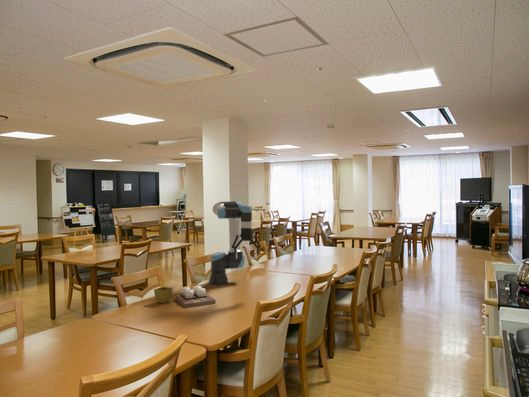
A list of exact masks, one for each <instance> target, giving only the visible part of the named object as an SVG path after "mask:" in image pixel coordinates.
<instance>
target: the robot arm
mask: <svg viewBox="0 0 529 397" xmlns="http://www.w3.org/2000/svg"><path fill="white" fill-rule="evenodd" d="M252 211H253V210H252V205H245V204H244V205H243V204H242V203H241V201H236V200H235V201H219V202H217V203H215V204H214V205H213V208H212V212H213V214H214V215H216V216H217V218H218V219H222V220H223V219H227V220H228V231H229V232H228V233H229V234H228V236H229V239H228V240H229V250H228V251H227V253H226V252H223V251H222V252H217V253H213V254H211V256H210V276H209V278H208V284H210V285H225V284H228V283H229V279H228V275H227V272H226V270H231V269H232V270H233V269H242V268H243V267H244V264H245V259H246V258H245V257H246V256H245V254H244V252H243V250H242V249H241V244H242V242H243V241H244V242H246V241H247V242H249V241H250V242H251V243H252V245H254V256H255V259H256V258H258V253H259V249H260V248H262V246H261V244H260V242H259V240H258V238H257V234H256V233H254V234H252V230H253V229H252ZM252 238H254V240H255V241H256V243H255V242H254V240H253V239H252Z"/></svg>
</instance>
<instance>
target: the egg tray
mask: <svg viewBox="0 0 529 397" xmlns="http://www.w3.org/2000/svg"><path fill="white" fill-rule="evenodd" d="M174 296H175V297H174V298H175V300H176V301H177V302H178V303H179V304H180V305H182V306H183V307H184V308H186V309H187V308H193V307H200V306H206V305H213V304H214V305H215V304H216V299H215V298H214V297H213V296H210V294H208V293H207V292H205V296H203V297H198V296H197V294H194V297H193V298H185V295H182V293H181V294H175V295H174Z"/></svg>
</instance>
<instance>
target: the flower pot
mask: <svg viewBox="0 0 529 397" xmlns="http://www.w3.org/2000/svg"><path fill="white" fill-rule="evenodd" d="M173 290H174V288H173V287H167V286H160V287H158V288H154V289H153V291H154V292H153V294H154V297H155V298H154V299H155V300H156V302H157V303H159V304H166V303H169V302H170V301H171V299H172V296H173Z"/></svg>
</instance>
